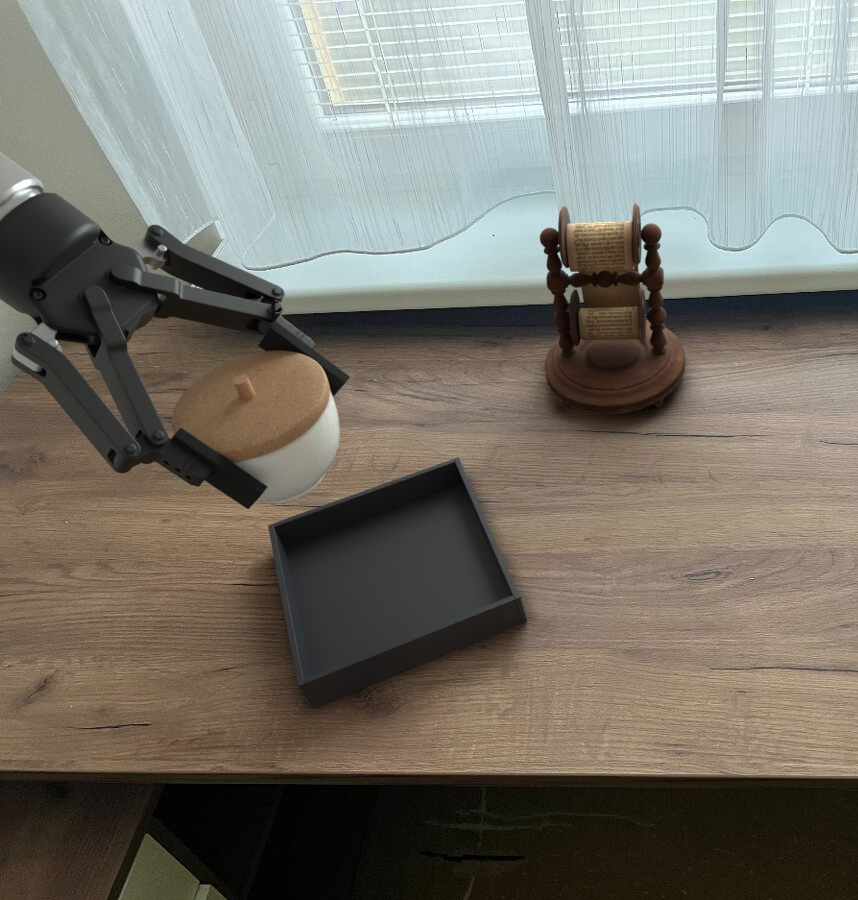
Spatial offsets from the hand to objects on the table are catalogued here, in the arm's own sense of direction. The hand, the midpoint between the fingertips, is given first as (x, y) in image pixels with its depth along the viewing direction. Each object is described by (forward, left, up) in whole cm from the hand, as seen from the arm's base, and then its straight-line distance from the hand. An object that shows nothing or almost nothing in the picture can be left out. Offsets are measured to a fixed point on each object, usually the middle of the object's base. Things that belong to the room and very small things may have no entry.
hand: (301, 440), depth 62 cm
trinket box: (-2, +2, -4) cm, 5 cm away
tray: (+2, +1, -19) cm, 19 cm away
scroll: (+30, +17, -19) cm, 39 cm away
